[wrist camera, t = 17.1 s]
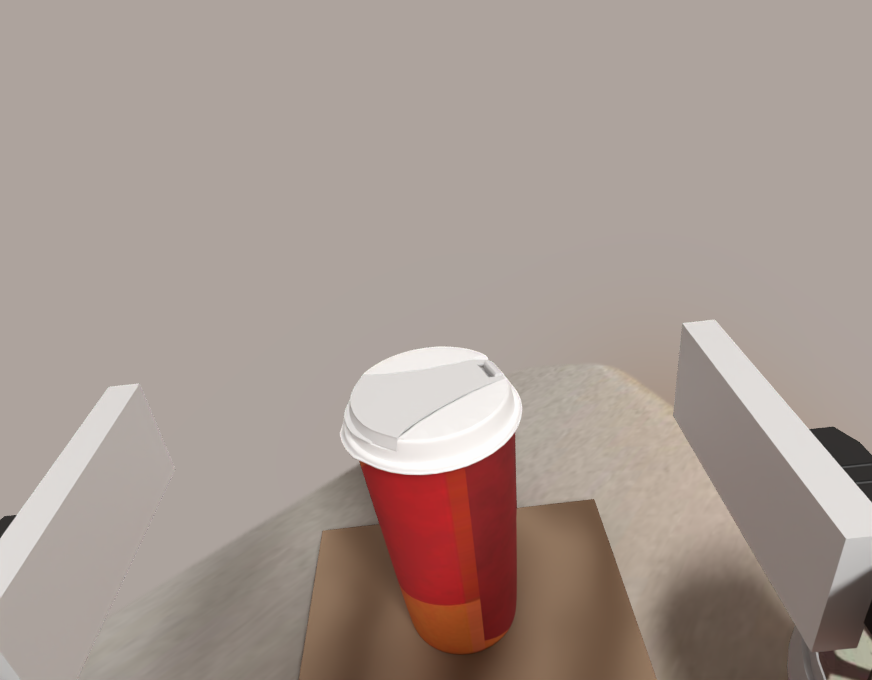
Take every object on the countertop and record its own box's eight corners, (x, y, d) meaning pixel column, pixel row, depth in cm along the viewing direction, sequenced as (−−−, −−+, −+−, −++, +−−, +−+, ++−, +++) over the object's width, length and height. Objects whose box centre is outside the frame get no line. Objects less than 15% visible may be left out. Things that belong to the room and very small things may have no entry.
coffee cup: (497, 530, 41) (474, 324, 33) (565, 636, 34) (555, 406, 26) (371, 580, 38) (316, 372, 31) (416, 704, 32) (359, 474, 24)
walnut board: (294, 770, 31) (286, 753, 30) (327, 546, 43) (322, 530, 42) (666, 731, 30) (668, 713, 30) (594, 515, 43) (594, 499, 42)
